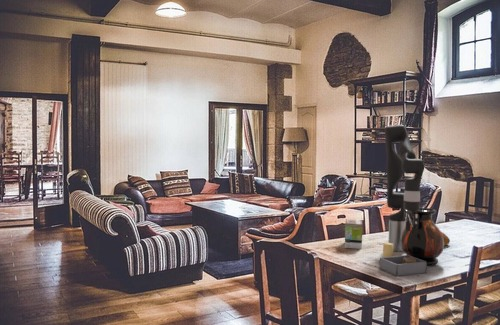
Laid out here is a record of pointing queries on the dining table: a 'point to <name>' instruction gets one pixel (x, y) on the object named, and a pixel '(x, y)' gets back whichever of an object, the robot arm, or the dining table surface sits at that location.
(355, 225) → the tea box
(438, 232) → the amphora vase
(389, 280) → the dining table surface
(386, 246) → the candle
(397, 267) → the tote
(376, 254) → the dining table surface
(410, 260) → the cube
